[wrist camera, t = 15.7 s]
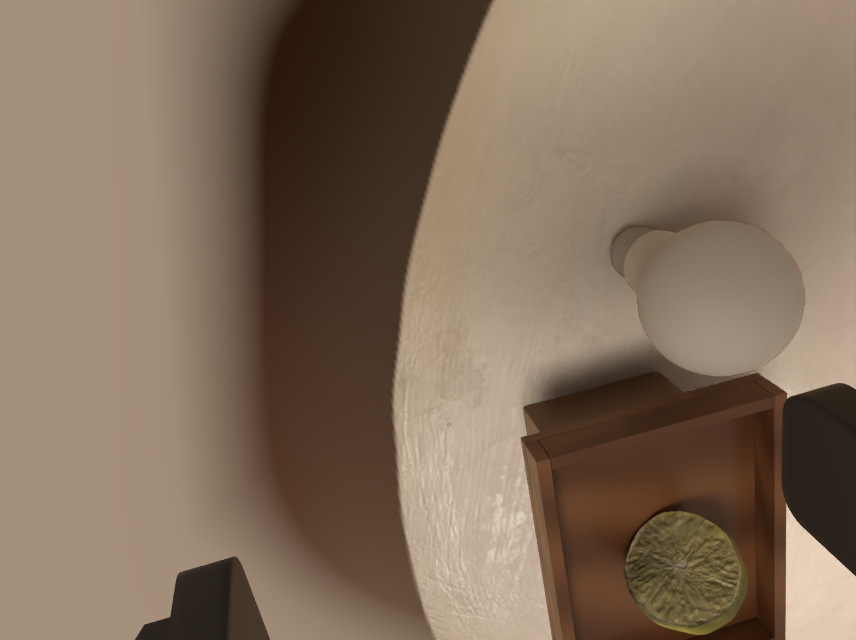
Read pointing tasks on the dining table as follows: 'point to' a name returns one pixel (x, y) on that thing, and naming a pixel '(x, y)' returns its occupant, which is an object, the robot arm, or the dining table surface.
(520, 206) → the dining table surface
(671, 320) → the lightbulb
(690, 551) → the lime
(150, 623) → the robot arm
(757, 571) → the tray
